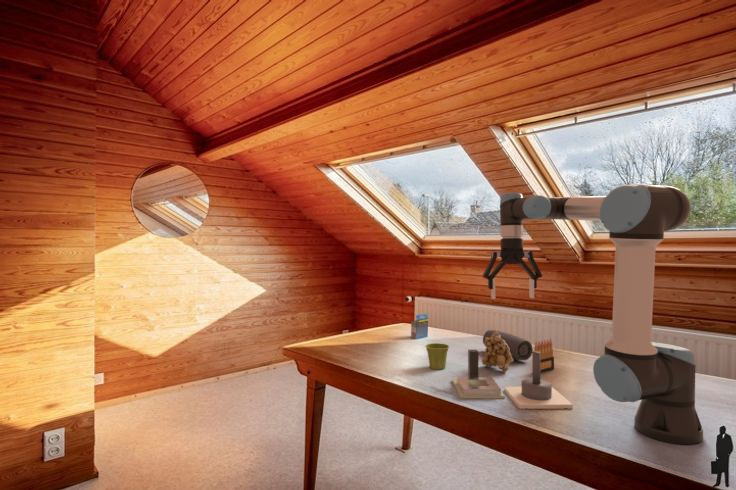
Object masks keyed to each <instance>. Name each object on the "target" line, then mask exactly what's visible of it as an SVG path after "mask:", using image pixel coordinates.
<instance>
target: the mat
mask: <svg viewBox="0 0 736 490" xmlns="http://www.w3.org/2000/svg"><path fill="white" fill-rule="evenodd" d="M451 382H452V384H453V386H454V388H455V390H456V392H457V394H458V396H459V397H460V399H505V398H506V397H505V394H504V393H503V392H502V391H501V395H463V393H462V391H461V389H460V388H459V386H458V384H457V378H451Z"/></svg>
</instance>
